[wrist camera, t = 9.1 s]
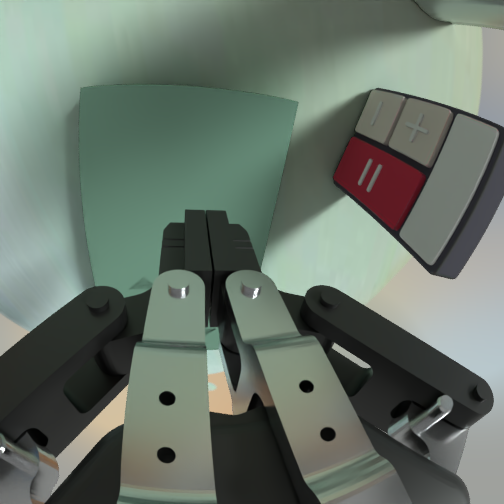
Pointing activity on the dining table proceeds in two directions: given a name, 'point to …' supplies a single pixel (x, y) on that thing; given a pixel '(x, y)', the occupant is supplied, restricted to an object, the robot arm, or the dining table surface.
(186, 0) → the dining table surface
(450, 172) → the calculator
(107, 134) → the putting board
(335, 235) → the dining table surface
